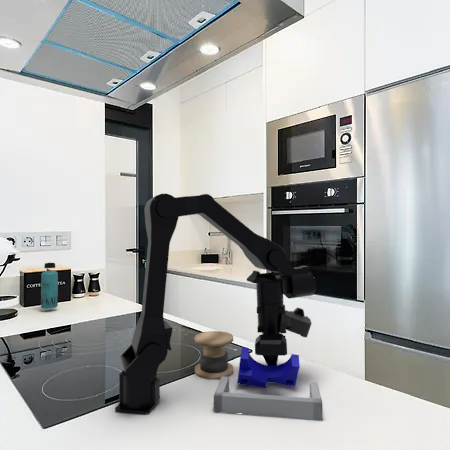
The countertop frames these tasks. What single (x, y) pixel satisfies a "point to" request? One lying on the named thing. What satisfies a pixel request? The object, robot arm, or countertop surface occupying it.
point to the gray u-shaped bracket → (268, 403)
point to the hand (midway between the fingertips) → (273, 372)
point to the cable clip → (266, 371)
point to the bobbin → (214, 355)
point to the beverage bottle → (49, 288)
